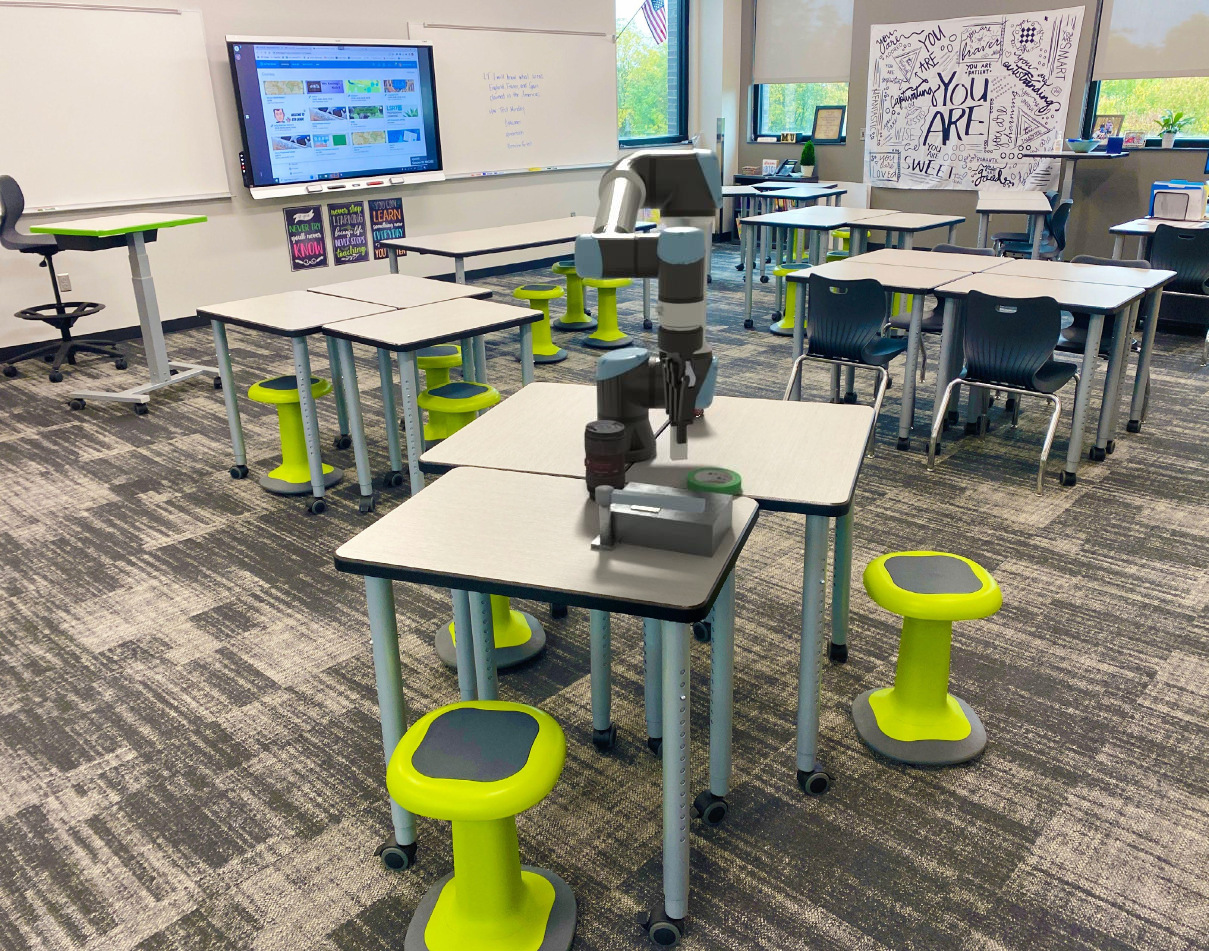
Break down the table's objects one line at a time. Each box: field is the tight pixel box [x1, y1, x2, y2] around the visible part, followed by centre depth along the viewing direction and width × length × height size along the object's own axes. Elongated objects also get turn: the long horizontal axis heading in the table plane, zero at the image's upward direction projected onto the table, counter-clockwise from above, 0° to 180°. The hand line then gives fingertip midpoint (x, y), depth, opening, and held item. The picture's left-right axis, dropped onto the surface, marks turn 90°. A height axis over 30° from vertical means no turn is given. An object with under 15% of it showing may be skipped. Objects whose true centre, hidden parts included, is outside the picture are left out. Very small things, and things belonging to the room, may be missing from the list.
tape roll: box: [686, 466, 742, 496], centre depth 181 cm, size 11×11×3 cm
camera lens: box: [583, 420, 626, 502], centre depth 175 cm, size 8×8×15 cm
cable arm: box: [595, 485, 705, 513], centre depth 151 cm, size 19×3×2 cm, turn 72°
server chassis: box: [590, 481, 734, 558], centre depth 159 cm, size 21×18×8 cm
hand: (678, 458), depth 155 cm, fingers closed
